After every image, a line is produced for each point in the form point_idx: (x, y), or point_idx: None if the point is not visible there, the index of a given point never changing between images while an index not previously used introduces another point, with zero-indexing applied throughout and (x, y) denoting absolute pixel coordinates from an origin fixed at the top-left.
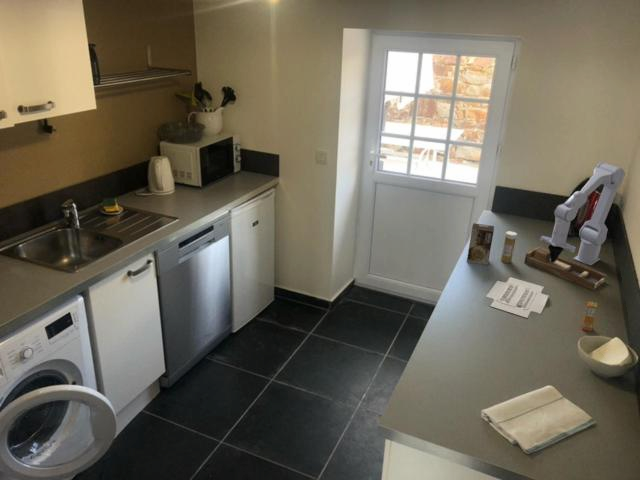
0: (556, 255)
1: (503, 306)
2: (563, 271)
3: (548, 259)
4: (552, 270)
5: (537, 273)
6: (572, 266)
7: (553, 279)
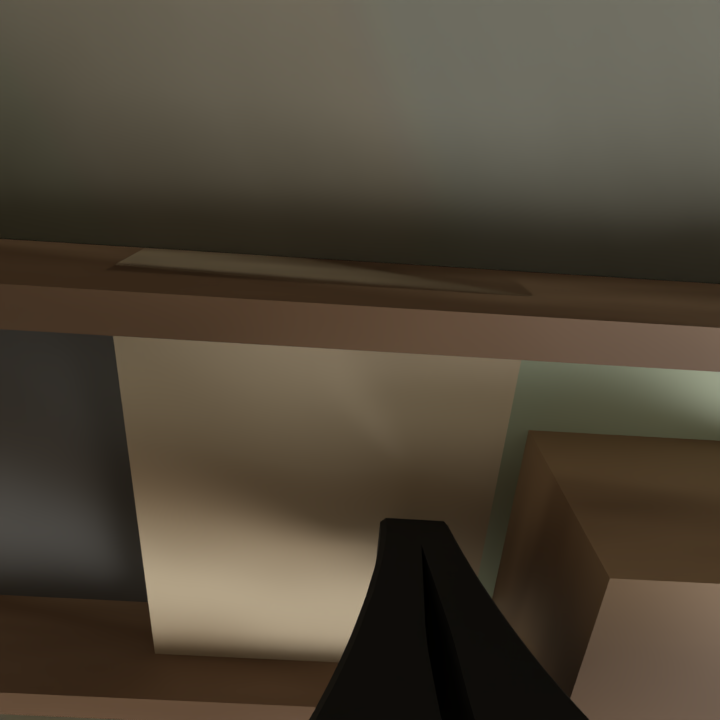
0: (339, 669)
1: None
2: (12, 279)
3: (511, 570)
4: (288, 275)
5: (510, 18)
6: (140, 643)
7: (142, 18)
